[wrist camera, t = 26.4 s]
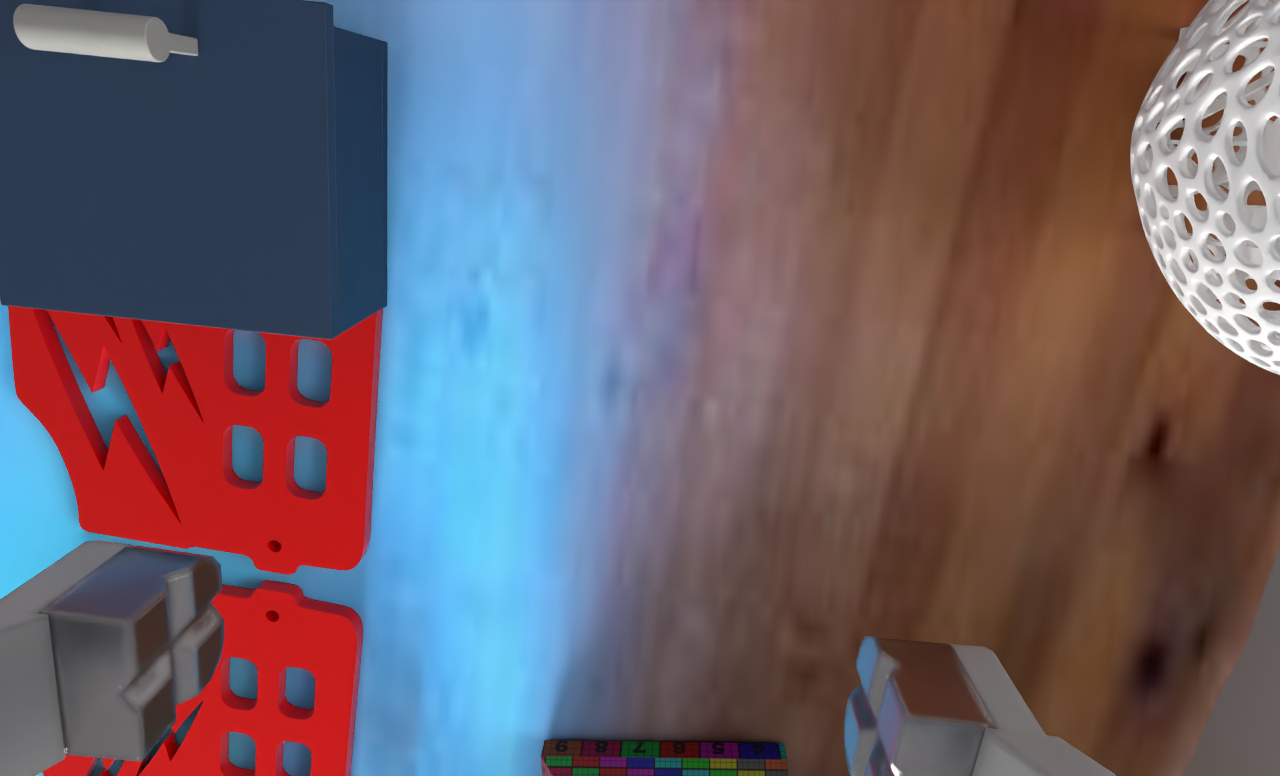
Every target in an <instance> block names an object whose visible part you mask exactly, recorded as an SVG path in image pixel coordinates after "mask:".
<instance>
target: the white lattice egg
mask: <svg viewBox="0 0 1280 776" xmlns="http://www.w3.org/2000/svg"><path fill="white" fill-rule="evenodd" d="M1246 1H1248V0H1209V1H1208V2H1207V4H1206V5H1205V6H1204V7H1203V8H1202V10H1201V11H1200V12H1199V13H1198V15H1197V16H1196V17H1195V19H1194V20H1193V22H1192V23H1191V24H1190V26H1189V27H1186V28H1181V29H1180V34H1179V39H1178V42H1177V44H1176V45H1175V47H1174V48H1173V50H1172V51H1171V52H1170V54H1169V55H1168V57H1167V58H1166V60H1165V62H1164V63H1163V65H1162V66H1161V68H1160V70H1159V72H1158V73H1157V75H1156V77H1155V78H1154V80H1153V82H1152V84H1151V86H1150V88H1149V90H1148V92H1147V94H1146V96H1145V98H1144V101H1143V103H1142V105H1141V108H1140V110H1139V112H1138V115H1137V117H1136V120H1135V124H1134V127H1133V131H1132V136H1131V151H1130V162H1131V177H1132V183H1133V187H1134V192H1135V197H1136V201H1137V205H1138V209H1139V213H1140V218H1141V222H1142V225H1143V229H1144V233H1145V235H1146V238H1147V241H1148V243H1149V246H1150V248H1151V250H1152V253H1153V255H1154V257H1155V259H1156V261H1157V263H1158V265H1159V267H1160V269H1161V271H1162V273H1163V275H1164V277H1165V279H1166V280H1167V282H1168V284H1169V285H1170V287H1171V288H1172V290H1173V291H1174V293H1175V294H1176V296H1177V297H1178V299H1179V300H1180V301H1181V303H1182V304H1183V305H1184V306H1185V307H1186V309H1187V310H1188V311H1189V312H1190V313H1191V314H1192V315H1193V317H1194V318H1195V319H1196V320H1197V321H1198V322H1199V323H1200V324H1201V325H1202V326H1203V327H1204V329H1205V330H1206V331H1207V332H1209V333H1210V334H1211V335H1212V336H1213V337H1214V338H1216V339H1217V340H1218V341H1219V342H1221V343H1222V344H1223V345H1225V346H1226V347H1227V348H1229V349H1230V350H1232V351H1233V352H1235V353H1236V354H1238V355H1239V356H1241V357H1243V358H1244V359H1246V360H1248V361H1250V362H1251V363H1253V364H1255V365H1257V366H1259V367H1261V368H1263V369H1266V370H1268V371H1271V372H1273V373H1276V374H1278V375H1280V335H1279V334H1278V333H1280V310H1279V311H1269V310H1266V309H1264V308H1263V303H1264V302H1275V303H1278V304H1280V288H1279V287H1277V286H1276V285H1275V284H1274V282H1275V281H1276V280H1280V0H1250V1H1249V2H1248V3H1247V4H1246V5H1245V6H1244V7H1243V8H1242V9H1241V10H1240V11H1239V12H1238V13H1237V14H1235V15H1234V16H1233V17H1232V18H1231V19H1230V20H1228V21H1227V19H1228V18H1229V16H1230V15H1231V14H1232V13H1233V12H1234V11H1235V10H1236V9H1237V8H1238V7H1239V6H1241V5H1242V4H1243V3H1245V2H1246ZM1226 21H1227V22H1226ZM1248 26H1249V27H1248ZM1247 27H1248V28H1247ZM1246 28H1247V29H1246ZM1245 30H1246V31H1245ZM1265 38H1268V41H1266V42H1263V41H1264V39H1265ZM1229 41H1230V44H1228V45H1225V44H1226V43H1228V42H1229ZM1260 47H1265V49H1264V50H1263V51H1262V52H1261V51H1260ZM1238 55H1243V56H1245V58H1246V61H1245V63H1244V65H1243V67H1242V68H1241V69H1240V70H1239V71H1236V72H1233V71H1232V65H1233V63H1234V61H1235V59H1236V57H1237V56H1238ZM1273 68H1274V71H1273V72H1271V71H1272V69H1273ZM1259 71H1262V75H1261V77H1260V79H1258V80H1256V81H1254V82H1252V83H1251V84H1249V85H1247V84H1248V82H1249V81H1250V80H1251V79H1252V77H1253V76H1254V75H1256V74H1257V73H1258V72H1259ZM1185 72H1187V73H1186V76H1185V78H1184V79H1183V81H1182V83H1181V84H1180V86H1179V87H1178V88H1177V89H1176V86H1177V83H1178V80H1179V79H1180V77H1181V76H1182V75H1183V74H1184V73H1185ZM1201 80H1202V81H1201ZM1200 81H1201V82H1200ZM1269 84H1271V85H1270V87H1269V89H1268V90H1267V89H1266V86H1267V85H1269ZM1250 100H1255V102H1256V104H1255V105H1250V104H1249V103H1247V102H1248V101H1250ZM1178 103H1179V104H1178ZM1177 105H1178V106H1177ZM1222 109H1224V113H1223V116H1222V118H1221V120H1220V121H1219V122H1218V123H1216V124H1215V125H1213V126H1210V127H1207V128H1202V120H1203V119H1205V118H1207V117H1209V116H1211V115H1212V114H1214V113H1216V112H1218V111H1220V110H1222ZM1274 115H1275V116H1277V117H1278V118H1277V119H1276V120H1275V121H1274V122H1273V121H1271V120H1270V119H1269V118H1270V117H1272V116H1274ZM1183 118H1185V120H1183ZM1160 120H1161V121H1160ZM1159 121H1160V123H1159ZM1158 123H1159V125H1158V127H1157V128H1156V126H1157V124H1158ZM1178 127H1179V128H1181V129H1183V130H1184V132H1183V135H1182V137H1181V140H1171V138H1170V134H1171V132H1172V131H1173V130H1175V129H1177V128H1178ZM1235 127H1240V128H1242V130H1243V132H1242V133H1241V134H1240V135H1237V136H1233V132H1234V128H1235ZM1215 130H1218V131H1217V133H1216V134H1215V135H1214V136H1213V135H1210V132H1212V131H1215ZM1174 144H1178V145H1177V147H1176V146H1175V145H1174ZM1233 146H1240V149H1239V151H1238V152H1236V153H1234V149H1233ZM1195 153H1196V154H1197V157H1198V165H1197V164H1196V163H1195V162H1194V161H1193V160H1192V159H1191V157H1192V156H1193V155H1194V154H1195ZM1213 163H1215V169H1214V172H1213V173H1212V167H1213ZM1224 166H1225V169H1226V172H1227V173H1226V172H1225V169H1224ZM1167 167H1169V168H1171V169H1172V171H1173V172H1174V174H1175V176H1176V179H1177V182H1178V186H1177V185H1168V183H1167ZM1219 185H1222V186H1224V187H1226V188H1227V189H1228V190H1229V194H1227V193H1226V192H1225V191H1224V190H1223V189H1222V188H1221V187H1220V186H1219ZM1255 190H1259V191H1262V192H1263V195H1264V197H1265V201H1266V206H1253V205H1247V197H1248V195H1249V194H1250V193H1251V192H1252V191H1255ZM1197 193H1201V194H1202V195H1203V197H1204V198H1205V200H1206V202H1207V209H1206V210H1205V211H1200V210H1198V209H1197V208H1196V205H1195V202H1194V195H1195V194H1197ZM1173 197H1177V199H1175V198H1173ZM1155 201H1156V203H1155ZM1185 215H1186V217H1187V218H1188V219H1189V221H1190V223H1191V225H1192V229H1193V234H1190V233H1187V230H1186V227H1185V222H1184V216H1185ZM1209 233H1212V234H1214V235H1216V236H1217V238H1218V239H1219V240H1215V239H1214V238H1212V237H1211V236H1210V234H1209ZM1208 248H1209V249H1210V250H1211V251H1212V252H1213V253H1214V255H1215V257H1214V256H1213V255H1212V254H1211V253H1210V251H1209V250H1208ZM1225 251H1226V258H1225V254H1224V253H1225ZM1189 253H1190V255H1191V256H1192V258H1193V261H1194V264H1195V266H1194V264H1193V263H1192V261H1191V259H1190V256H1189ZM1249 278H1251V279H1254V280H1255V281H1256V283H1257V285H1258V288H1257V290H1250V289H1248V287H1247V286H1246V283H1245V280H1246V279H1249ZM1240 298H1242V299H1243V300H1244V302H1245V303H1246V305H1244V304H1241V303H1240V302H1239V300H1238V299H1240ZM1216 299H1219V300H1220V302H1221V304H1220V303H1218V302H1217V301H1216ZM1246 316H1248V317H1250V318H1252V319H1253V320H1255V321H1256V322H1257V323H1258V324H1259V325H1260V327H1258V326H1256V325H1255V324H1253V323H1252V322H1251V321H1250V320H1249V319H1248V318H1247V317H1246Z"/></svg>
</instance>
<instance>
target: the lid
mask: <svg viewBox="0 0 1280 776" xmlns="http://www.w3.org/2000/svg"><path fill="white" fill-rule="evenodd" d="M0 300H1V305H7V306H17V307H26V308H36V309H45V310H55V311H64V312H74V313H83V314H92V315H102V316H111V317H121V318H130V319H140V320H149V321H159V322H168V323H177V324H187V325H196V326H206V327H215V328H225V329H234V330H243V331H253V332H262V333H272V334H281V335H291V336H300V337H310V338H319V339H328V340H332V339H333V338H335V337H337V336H338V300H337V235H336V169H335V104H334V38H333V6H332V5H330V4H327V3H324V2H314V1H304V0H0Z"/></svg>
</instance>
